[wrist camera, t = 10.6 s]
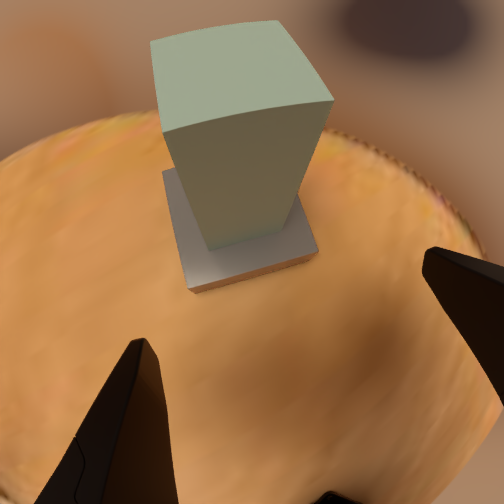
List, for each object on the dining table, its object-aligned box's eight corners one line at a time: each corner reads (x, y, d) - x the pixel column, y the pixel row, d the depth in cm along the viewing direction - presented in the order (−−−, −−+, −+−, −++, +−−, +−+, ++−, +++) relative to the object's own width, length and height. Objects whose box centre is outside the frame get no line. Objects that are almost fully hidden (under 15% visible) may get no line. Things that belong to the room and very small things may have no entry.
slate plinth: (308, 260, 22) (318, 251, 19) (194, 293, 21) (187, 288, 18) (272, 162, 24) (276, 142, 21) (170, 188, 23) (162, 171, 20)
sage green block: (280, 231, 20) (334, 100, 7) (208, 250, 19) (162, 132, 7) (259, 168, 21) (277, 20, 9) (192, 185, 20) (150, 41, 8)
